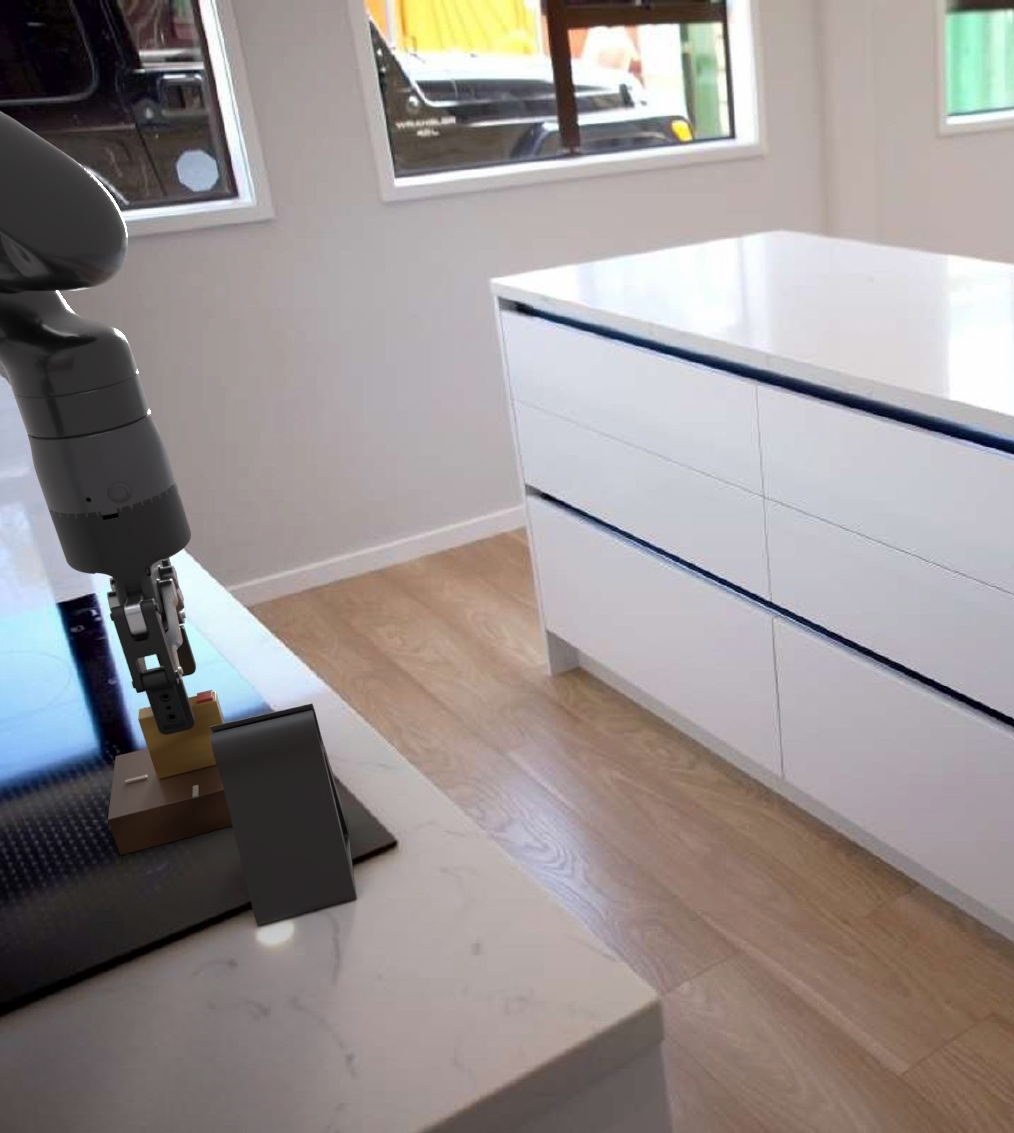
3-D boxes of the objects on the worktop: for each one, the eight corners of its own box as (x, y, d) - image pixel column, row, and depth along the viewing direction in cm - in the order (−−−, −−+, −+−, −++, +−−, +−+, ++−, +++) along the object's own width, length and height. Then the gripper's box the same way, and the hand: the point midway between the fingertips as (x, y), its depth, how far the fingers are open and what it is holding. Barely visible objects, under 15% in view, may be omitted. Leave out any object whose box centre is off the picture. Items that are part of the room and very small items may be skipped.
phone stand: (356, 900, 83) (315, 740, 78) (256, 928, 81) (206, 766, 76) (349, 825, 90) (310, 675, 85) (257, 849, 88) (212, 697, 83)
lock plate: (120, 856, 88) (106, 818, 87) (127, 789, 96) (115, 753, 95) (290, 810, 92) (280, 773, 91) (284, 749, 100) (274, 714, 99)
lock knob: (157, 779, 91) (136, 716, 89) (158, 768, 93) (137, 705, 91) (233, 760, 93) (215, 697, 91) (233, 750, 95) (215, 687, 92)
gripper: (57, 466, 89) (126, 671, 95) (32, 536, 77) (114, 765, 84) (176, 445, 91) (236, 646, 98) (170, 510, 79) (238, 734, 86)
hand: (180, 701), depth 91 cm, fingers open, 8 cm apart
